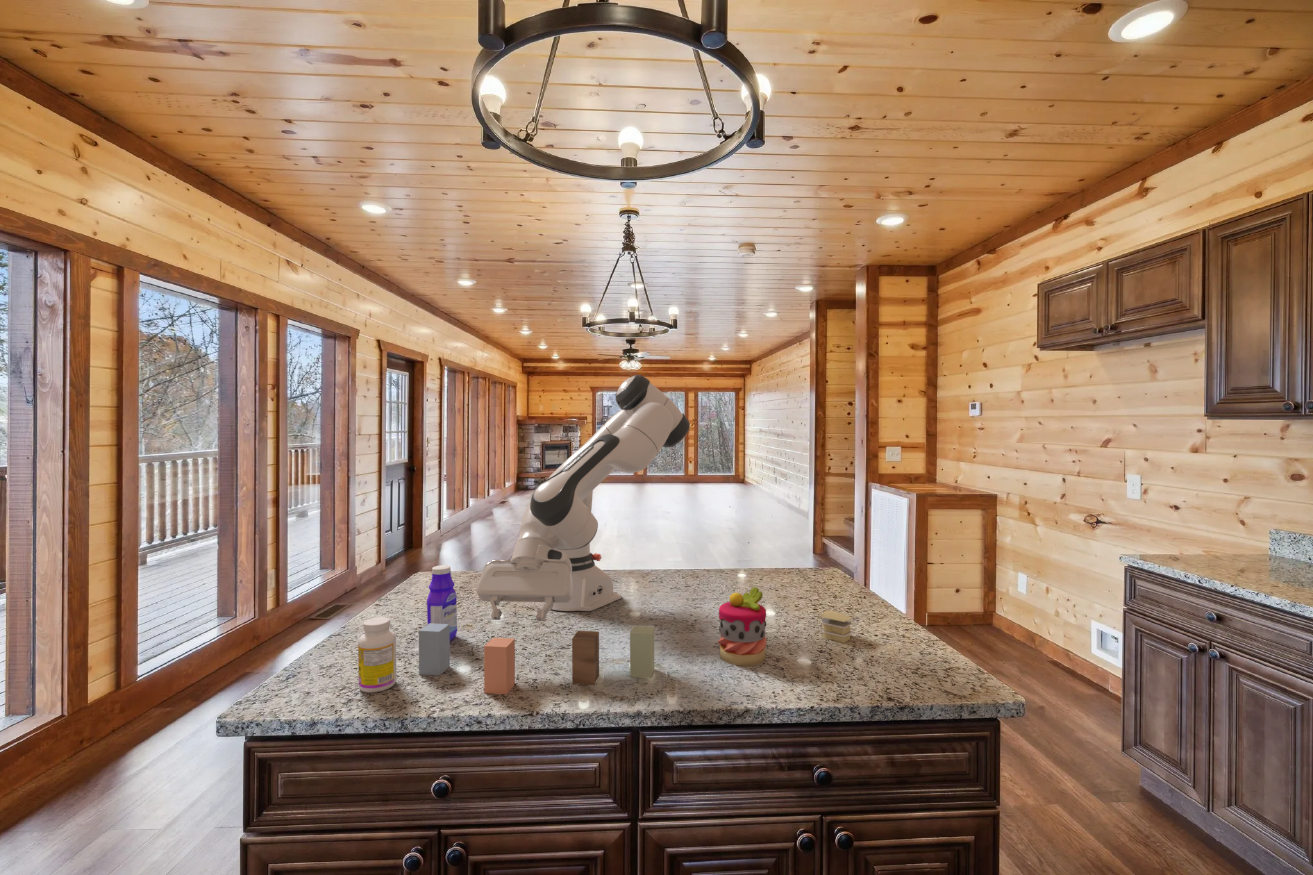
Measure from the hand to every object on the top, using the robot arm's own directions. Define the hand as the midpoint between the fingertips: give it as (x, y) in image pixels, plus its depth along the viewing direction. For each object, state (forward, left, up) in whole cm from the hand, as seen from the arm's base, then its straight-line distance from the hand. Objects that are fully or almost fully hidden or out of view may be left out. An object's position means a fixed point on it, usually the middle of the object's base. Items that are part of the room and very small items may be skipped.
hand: (517, 619), depth 118 cm
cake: (-39, +28, -11) cm, 49 cm away
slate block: (+11, -14, -11) cm, 21 cm away
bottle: (+2, -29, -11) cm, 31 cm away
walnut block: (-8, +12, -11) cm, 18 cm away
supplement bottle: (+22, -15, -11) cm, 29 cm away
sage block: (-18, +18, -11) cm, 28 cm away
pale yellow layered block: (-64, +38, -12) cm, 75 cm away
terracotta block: (+6, +3, -11) cm, 13 cm away
